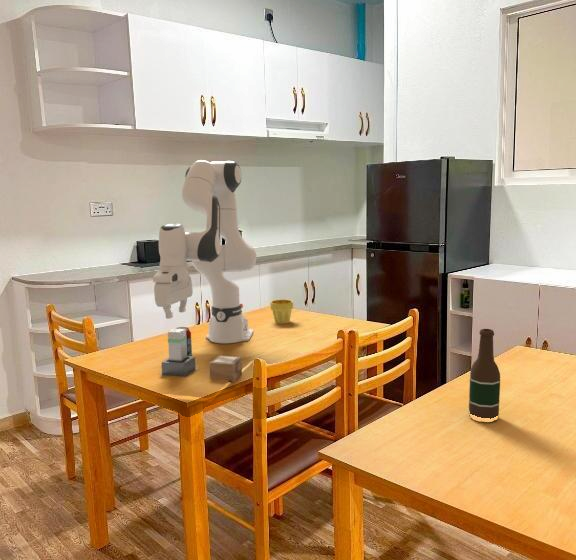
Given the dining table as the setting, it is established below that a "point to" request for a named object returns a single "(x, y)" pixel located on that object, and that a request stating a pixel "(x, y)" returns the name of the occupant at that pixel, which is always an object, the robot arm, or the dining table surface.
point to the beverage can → (188, 334)
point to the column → (177, 345)
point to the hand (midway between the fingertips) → (175, 315)
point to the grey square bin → (178, 367)
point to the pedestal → (226, 368)
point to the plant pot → (281, 310)
